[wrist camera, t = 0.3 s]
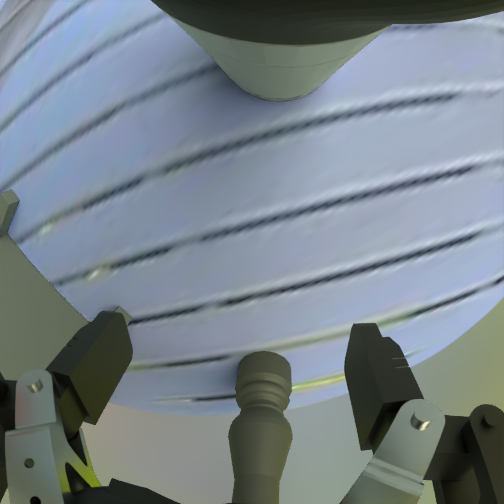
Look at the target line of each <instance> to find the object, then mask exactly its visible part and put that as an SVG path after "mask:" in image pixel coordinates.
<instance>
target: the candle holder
mask: <svg viewBox="0 0 504 504" xmlns="http://www.w3.org/2000/svg"><path fill="white" fill-rule="evenodd" d="M235 390H236V393H237V397H236V401H237V404H238V406H239V408H241V412H240V415H238V416H237V417H236V418H235V419H234V420H233V422H232V424H231V426H230V430H229V436H228V438H229V445H230V452H231V458H232V465H233V472H234V479H235V481H234V489H233V497H232V503H240V504H279V482H280V479H281V476H282V472H283V469H284V466H285V462H286V459H287V455H288V452H289V449H290V445H291V442H292V430H291V426H290V424H289V422H288V421H287V419H286V418H285V417H284V415H283V411H284V410H285V409H286V408H287V406H288V404H289V402H290V399H289V396H290V394H291V392H292V384H291V368H290V364H289V362H288V361H287V360H286V359H285V358H284V357H282V356H280V355H278V354H276V353H272V352H266V351H264V352H255V353H252V354H250V355H248V356H246V357H245V358H244V359H243V360H242V361H241V362H240V364H239V368H238V375H237V381H236V387H235Z"/></svg>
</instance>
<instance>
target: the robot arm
mask: <svg viewBox="0 0 504 504" xmlns="http://www.w3.org/2000/svg"><path fill="white" fill-rule="evenodd" d="M151 1H152V2H153V3H155V4H156V5H157V6H158V7H159V8H160V9H161V10H163V11H164V12H165V13H166V14H167V15H168V16H169V17H170V18H171V19H172V20H173V21H174V22H176V23H177V24H178V25H179V26H180V27H181V28H182V29H183V30H184V31H185V32H186V33H187V34H189V35H190V36H191V37H192V38H193V39H194V40H195V41H196V42H197V43H198V44H199V45H200V46H201V47H202V48H203V49H204V51H205V52H206V53H207V54H208V55H209V56H210V57H211V58H212V59H213V60H214V61H215V62H216V63H217V64H218V65H219V66H220V67H221V68H222V69H223V70H224V72H225V73H226V74H227V75H228V76H229V77H230V78H231V79H232V80H233V81H234V83H236V84H237V85H238V86H239V87H240V88H242V89H243V90H244V91H246V92H248V93H250V94H251V95H253V96H256V97H259V98H262V99H266V100H273V101H287V100H292V99H297V98H301V97H303V96H305V95H307V94H309V93H311V92H312V91H314V90H315V89H316V88H318V87H319V86H320V85H321V84H323V83H324V82H325V81H326V80H327V79H328V78H330V77H331V76H332V75H333V74H334V73H335V72H336V71H337V70H339V69H340V68H341V67H342V66H343V65H344V64H345V63H347V62H348V61H349V60H350V59H351V58H352V57H354V56H355V55H356V54H357V53H358V52H359V51H361V50H362V49H363V48H364V47H365V46H367V45H368V44H369V43H370V42H371V41H372V40H374V39H375V38H376V37H377V36H379V35H380V34H381V33H382V32H383V31H385V30H386V29H387V28H388V27H390V26H391V25H392V24H430V23H445V22H454V21H461V20H466V19H472V18H477V17H481V16H485V15H489V14H493V13H498V12H501V11H504V0H151ZM132 354H133V349H132V344H131V340H130V337H129V333H128V329H127V325H126V321H125V318H124V315H123V314H122V313H120V312H111V311H101V312H100V313H99V314H98V315H97V317H96V318H95V319H94V320H93V321H92V322H90V323H88V324H86V325H85V326H83V327H82V328H80V329H79V330H78V331H77V332H76V333H75V335H74V336H73V337H72V339H70V340H69V342H68V343H67V344H66V346H64V347H63V349H62V350H61V351H60V352H59V353H58V355H57V356H56V357H55V358H54V359H53V361H52V362H51V363H50V364H49V365H48V367H47V368H46V369H45V370H43V369H34V370H30V371H28V372H26V373H25V374H23V375H22V376H21V377H20V378H19V380H5V379H4V377H3V375H2V373H1V372H0V502H1V500H2V498H3V496H4V493H5V491H6V489H7V487H8V491H9V498H10V504H180V503H178V502H175V501H173V500H171V499H168V498H166V497H164V496H162V495H160V494H158V493H156V492H154V491H152V490H150V489H148V488H144V487H140V486H137V485H133V484H129V483H126V482H123V481H119V480H116V479H113V478H112V479H111V481H110V484H109V486H101V484H100V482H99V480H98V479H97V477H96V475H95V473H94V470H93V467H92V464H91V460H90V457H89V454H88V450H87V446H86V442H85V438H84V434H83V431H82V429H81V427H80V426H81V425H82V422H83V421H84V422H87V423H90V424H93V425H96V423H97V421H98V419H99V418H100V416H101V414H102V412H103V410H104V408H105V406H106V405H107V403H108V401H109V399H110V397H111V396H112V394H113V392H114V390H115V388H116V387H117V385H118V383H119V381H120V380H121V378H122V376H123V374H124V373H125V371H126V369H127V367H128V366H129V364H130V362H131V359H132ZM404 357H405V356H404V354H403V352H402V350H401V348H400V346H399V345H398V344H397V343H396V342H395V341H393V340H392V339H391V338H390V337H382V335H381V333H380V331H379V329H378V327H377V325H376V323H358V324H353V326H352V329H351V333H350V338H349V343H348V348H347V352H346V357H345V364H344V371H345V378H346V382H347V386H348V391H349V395H350V400H351V404H352V409H353V414H354V419H355V423H356V428H357V433H358V438H359V444H360V449H361V451H362V450H371V449H372V451H373V457H372V459H371V460H370V462H369V463H368V464H367V466H366V467H365V469H364V470H363V472H362V473H361V475H360V476H359V477H358V479H357V480H356V482H355V483H354V485H353V486H352V487H351V489H350V490H349V492H348V493H347V494H346V496H345V497H344V498H343V499H342V501H341V502H340V504H417V502H418V500H419V498H420V496H421V494H422V492H423V489H424V484H422V480H432V482H433V487H434V492H435V497H436V502H437V504H504V413H503V411H501V409H499V408H497V407H496V406H493V405H488V404H484V405H480V406H478V407H476V408H475V409H474V410H473V411H472V413H471V414H470V416H469V417H464V416H449V415H444V413H443V412H442V410H441V409H440V407H439V406H438V405H436V404H435V403H433V402H431V401H428V400H424V398H423V395H422V393H421V391H420V389H419V387H418V384H417V382H416V380H415V377H414V375H413V373H412V372H411V369H410V367H409V365H408V363H407V360H406V359H405V358H404ZM227 504H240V503H227Z"/></svg>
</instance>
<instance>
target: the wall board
mask: <svg viewBox="0 0 504 504" xmlns="http://www.w3.org/2000/svg"><path fill="white" fill-rule="evenodd" d="M18 203H19V199H18V197H17V196H16V195H15V194H14V192H13V191H12V190H9V191H6V192H4V193H1V194H0V372H1V373H2V375H3V377H4V379H5V380H19V378H20V377H21V376H22V375H23V374H25V373H26V372H28V371H30V370H34V369H43V370H45V369H46V368H47V367H48V365H49V364H50V363H51V362H52V361H53V359H54V358H55V357H56V356H57V355H58V353H59V352H60V351H61V350H62V349H63V347H64V346H66V344H67V343H68V342H69V340H70V339H72V337H73V336H74V335H75V333H76V332H77V331H78V330H79V329H80V328H82V327H83V326H85V325H86V324H88V323H89V322H88V321H87V320H86V319H85V318H84V317H83V316H82V315H81V314H80V313H79V312H78V311H77V310H76V309H75V308H74V307H73V306H71V305H70V304H69V303H68V302H67V301H66V300H65V299H64V298H63V297H62V296H61V294H60V293H59V292H58V291H57V290H56V289H55V288H54V287H53V286H52V285H51V284H50V283H49V282H48V281H47V280H46V279H45V278H44V277H43V275H42V274H41V273H40V272H39V271H38V270H37V269H36V268H35V267H34V265H33V264H32V263H31V262H30V261H29V260H28V258H27V257H26V256H25V255H24V254H23V253H22V251H21V250H20V249H19V248H18V247H17V245H16V244H15V243H14V242H13V240H12V239H11V238H10V237H9V235H8V234H7V231H8V229H9V226H10V223H11V220H12V218H13V215H14V213H15V210H16V208H17V205H18ZM114 312H120V313H122V314H123V315H124V318H125V321H126V325H128V323H129V322H130V320H131V319H132V317H131V316H130V315H128V314H127V313H126V312H125V311H124V310H123V309H122V308H121V307H120V306H119V307H118V308H117V309H116V310H115V311H114ZM7 489H8V487H7Z"/></svg>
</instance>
